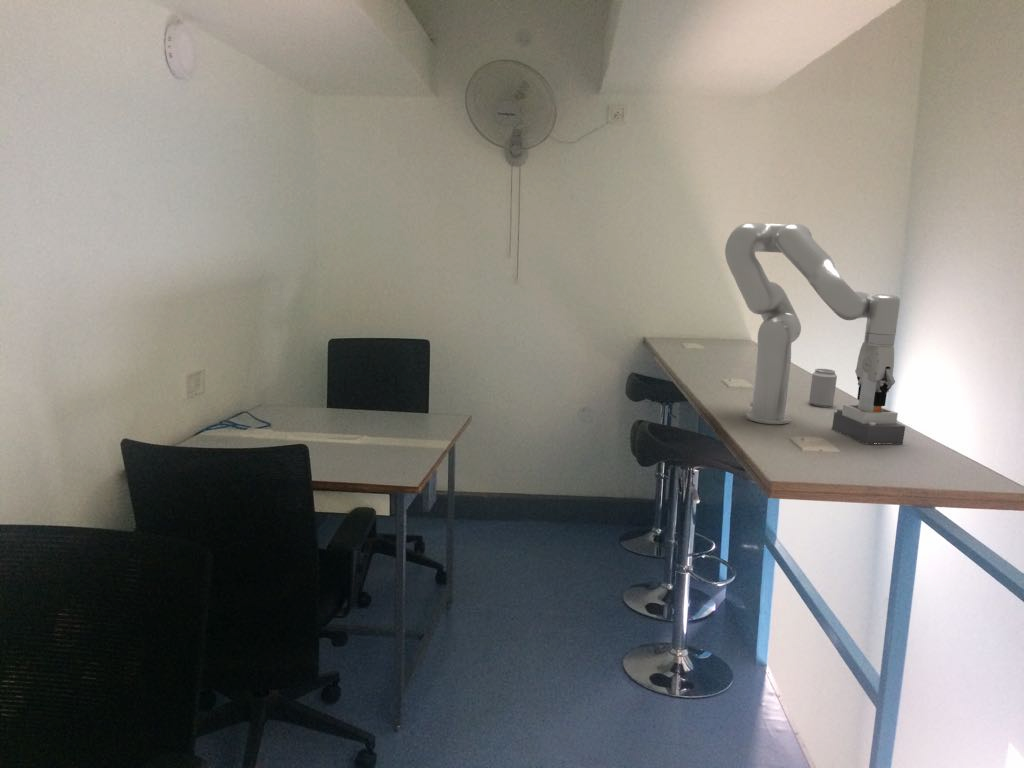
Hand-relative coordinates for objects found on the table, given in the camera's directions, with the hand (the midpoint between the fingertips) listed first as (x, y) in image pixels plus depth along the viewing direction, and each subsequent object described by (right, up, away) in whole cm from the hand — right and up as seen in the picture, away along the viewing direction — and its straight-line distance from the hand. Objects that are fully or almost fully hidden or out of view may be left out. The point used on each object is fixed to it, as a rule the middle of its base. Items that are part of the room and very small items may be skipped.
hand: (870, 402), depth 210 cm
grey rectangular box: (0, -10, +2) cm, 10 cm away
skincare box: (0, -3, +1) cm, 3 cm away
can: (+2, -2, +39) cm, 39 cm away
